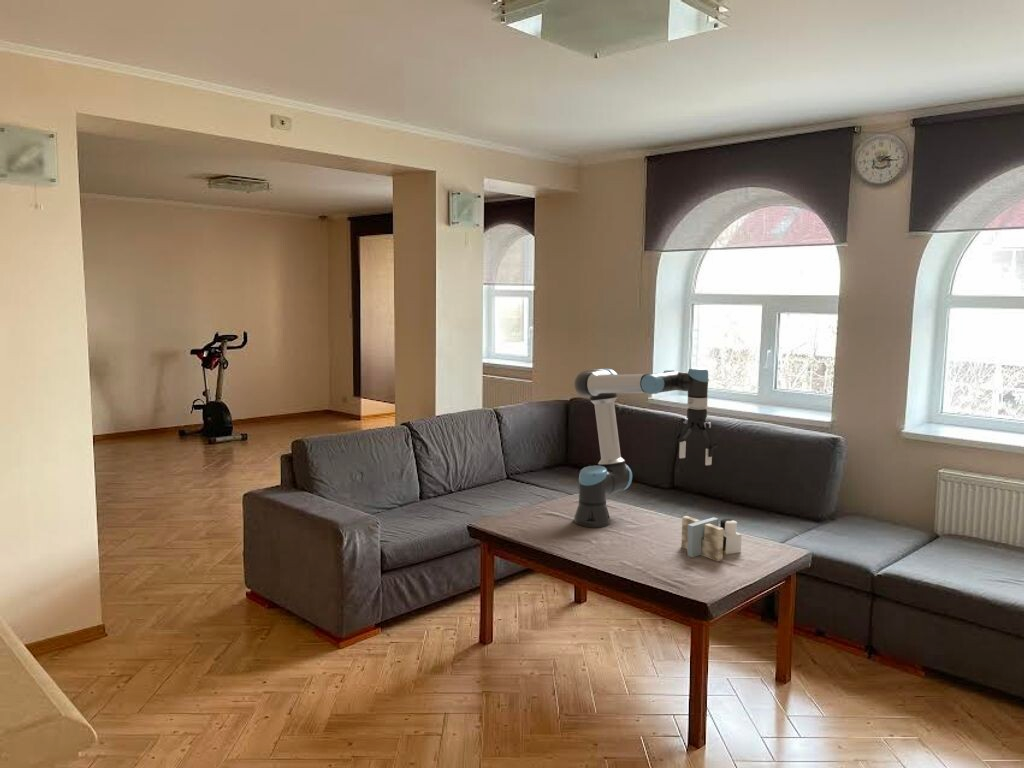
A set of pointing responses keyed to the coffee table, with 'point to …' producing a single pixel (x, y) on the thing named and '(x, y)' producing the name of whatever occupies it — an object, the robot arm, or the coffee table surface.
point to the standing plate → (705, 539)
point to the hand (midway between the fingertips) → (695, 461)
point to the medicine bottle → (730, 536)
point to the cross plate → (697, 536)
